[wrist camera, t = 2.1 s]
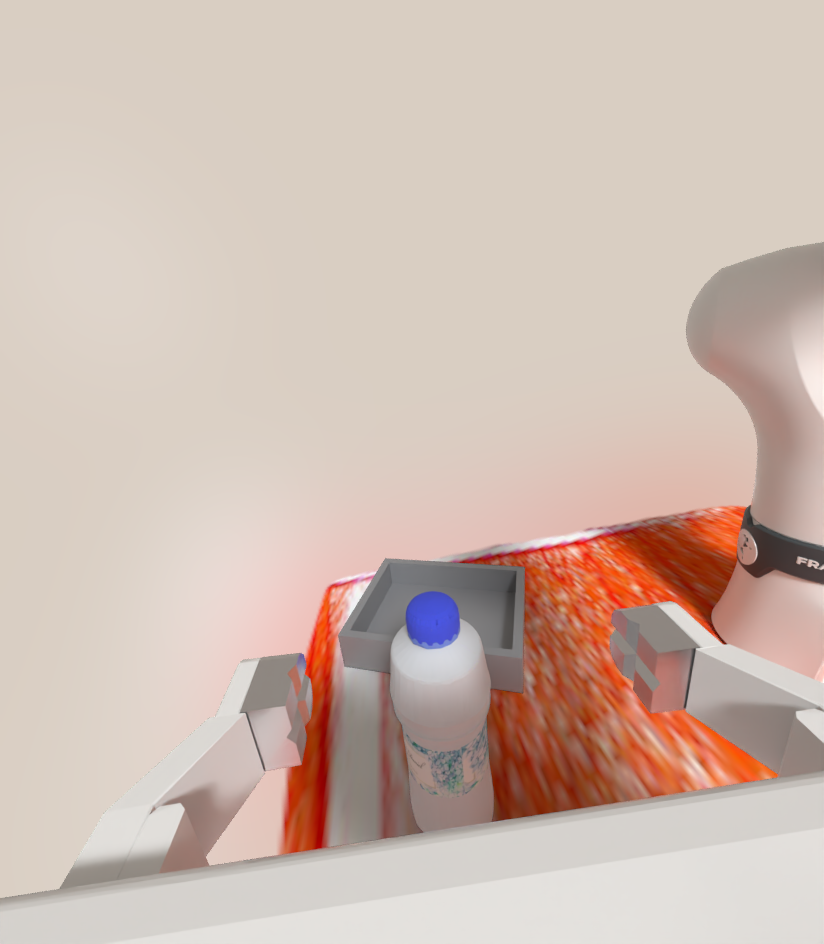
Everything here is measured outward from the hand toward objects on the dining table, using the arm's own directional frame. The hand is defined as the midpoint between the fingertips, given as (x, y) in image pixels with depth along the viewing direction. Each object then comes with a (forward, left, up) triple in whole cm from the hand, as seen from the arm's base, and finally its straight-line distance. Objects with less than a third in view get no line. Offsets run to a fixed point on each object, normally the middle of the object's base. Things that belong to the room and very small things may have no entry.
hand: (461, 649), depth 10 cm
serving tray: (+9, -31, -28) cm, 43 cm away
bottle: (+4, -11, -28) cm, 30 cm away
